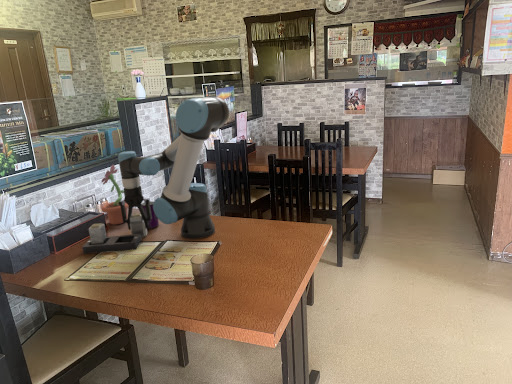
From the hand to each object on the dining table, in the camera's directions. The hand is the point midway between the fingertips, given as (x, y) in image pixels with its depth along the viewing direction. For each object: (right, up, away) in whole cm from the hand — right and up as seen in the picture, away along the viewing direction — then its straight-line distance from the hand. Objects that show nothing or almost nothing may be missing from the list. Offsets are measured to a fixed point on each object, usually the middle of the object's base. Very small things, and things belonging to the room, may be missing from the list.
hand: (139, 235), depth 180 cm
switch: (-8, -4, -10) cm, 14 cm away
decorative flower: (-17, +4, +22) cm, 28 cm away
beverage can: (+2, +3, +11) cm, 12 cm away
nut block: (0, 0, 0) cm, 0 cm away
